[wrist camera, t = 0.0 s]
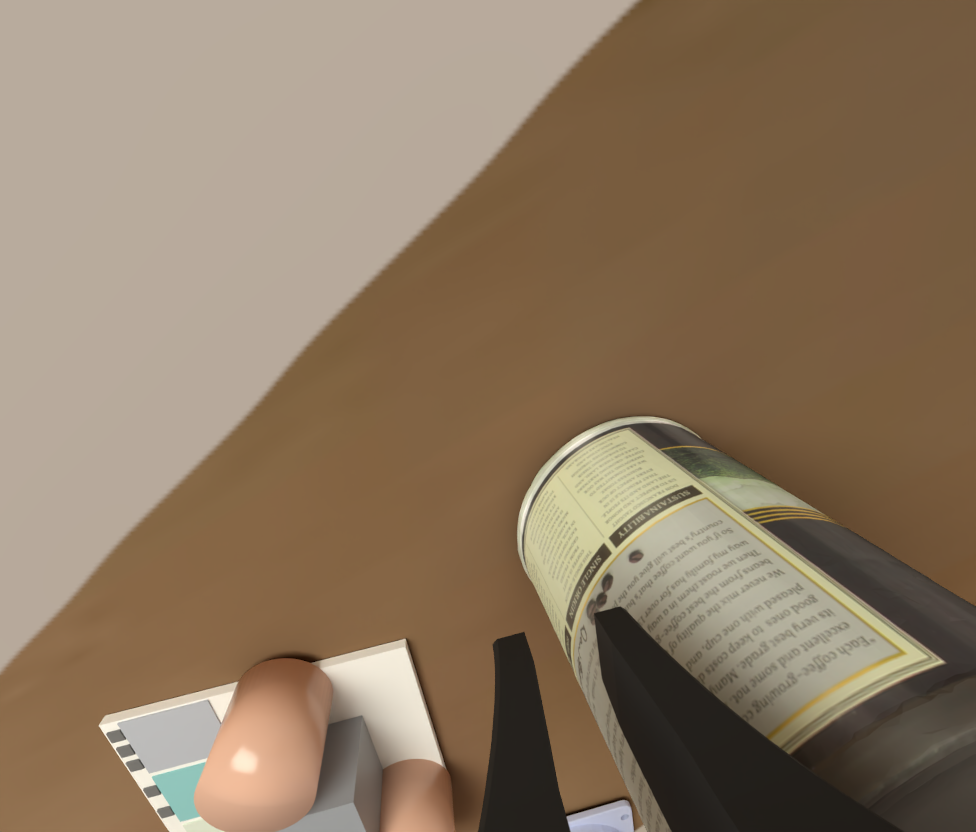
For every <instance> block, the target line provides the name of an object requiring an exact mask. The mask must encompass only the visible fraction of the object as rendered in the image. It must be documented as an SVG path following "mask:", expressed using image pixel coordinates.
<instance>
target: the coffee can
mask: <svg viewBox="0 0 976 832" xmlns="http://www.w3.org/2000/svg"><path fill="white" fill-rule="evenodd" d="M517 542H518V553H519V556H520V559H521V562H522V565H523V568H524V570H525V571H526V573H527V575H528V577H529V578H530V580H531V581H532V582H533V584H534V586H535V588H536V591H537V593H538V595H539V597H540V599H541V601H542V604H543V606H544V608H545V610H546V612H547V614H548V616H549V619H550V621H551V623H552V625H553V628H554V630H555V632H556V634H557V636H558V638H559V640H560V643H561V645H562V647H563V649H564V652H565V654H566V656H567V658H568V660H569V662H570V664H571V667H572V669H573V671H574V673H575V676H576V678H577V681H578V683H579V685H580V687H581V689H582V691H583V693H584V695H585V697H586V700H587V702H588V704H589V706H590V708H591V711H592V713H593V715H594V717H595V719H596V722H597V724H598V726H599V728H600V730H601V732H602V735H603V737H604V739H605V741H606V743H607V745H608V748H609V750H610V752H611V754H612V756H613V758H614V761H615V763H616V765H617V767H618V769H619V771H620V774H621V776H622V778H623V780H624V782H625V784H626V787H627V789H628V791H629V793H630V795H631V797H632V800H633V802H634V804H635V806H636V808H637V810H638V813H639V815H640V817H641V819H642V821H643V823H644V826H645V828H646V830H647V832H671V830H670V828H669V826H668V824H667V822H666V820H665V818H664V816H663V814H662V812H661V810H660V808H659V806H658V804H657V802H656V800H655V798H654V796H653V793H652V791H651V789H650V787H649V785H648V783H647V781H646V779H645V777H644V775H643V773H642V771H641V769H640V767H639V765H638V763H637V761H636V759H635V757H634V755H633V753H632V751H631V749H630V747H629V745H628V743H627V741H626V738H625V736H624V734H623V732H622V730H621V728H620V725H619V723H618V720H617V718H616V715H615V712H614V710H613V707H612V705H611V702H610V699H609V697H608V694H607V691H606V689H605V686H604V683H603V681H602V676H601V668H600V660H599V652H598V644H597V636H596V628H595V620H594V613H597V612H601V611H604V610H608V609H612V608H615V607H619V606H621V607H622V608H624V609H626V610H627V612H628V613H629V614H630V615H631V616H632V617H633V618H634V619H635V620H636V621H637V622H638V623H639V624H640V625H641V627H642V628H643V629H644V630H645V631H646V632H647V633H648V634H649V635H650V636H651V637H652V638H653V639H654V640H655V641H656V642H657V643H658V644H659V645H660V646H661V647H662V648H663V649H665V650H666V651H667V652H668V653H669V654H670V655H671V656H672V657H673V658H674V659H675V660H676V661H677V662H678V663H679V664H680V665H681V666H682V667H684V668H685V669H686V670H687V671H688V672H689V673H690V674H691V675H692V676H694V677H695V678H696V679H697V680H698V681H699V682H700V683H701V684H702V685H704V686H705V687H706V688H707V689H708V690H709V691H710V692H712V693H713V694H714V695H715V696H716V697H717V698H719V699H720V700H721V701H722V702H723V703H724V704H726V705H727V706H728V707H729V708H730V709H732V710H733V711H734V712H735V713H737V714H738V715H739V716H740V717H741V718H743V719H744V720H745V721H746V722H748V723H749V724H750V725H751V726H753V727H754V728H755V729H756V730H758V731H759V732H760V733H761V734H763V735H764V736H765V737H767V738H768V739H769V740H771V741H772V742H773V743H774V744H776V745H777V746H778V747H780V748H781V749H782V750H784V751H785V752H787V753H788V754H789V755H791V756H792V757H793V758H795V759H796V760H798V761H799V762H800V763H802V764H803V765H804V766H806V767H807V768H809V769H810V770H811V771H813V772H814V773H816V774H817V775H819V776H820V777H822V778H823V779H824V780H826V781H827V782H829V783H830V784H832V785H833V786H834V787H836V788H837V789H839V790H840V791H842V792H843V793H845V794H846V795H848V796H849V797H851V798H852V799H854V800H856V801H857V802H859V803H860V804H862V805H863V806H865V807H866V808H868V809H870V810H871V811H873V812H874V813H876V814H877V815H879V816H881V817H882V818H884V819H885V820H887V821H888V822H890V823H892V824H893V825H895V826H896V827H898V828H899V829H901V830H903V831H904V832H976V606H974V605H972V604H971V603H969V602H967V601H965V600H964V599H962V598H960V597H959V596H957V595H955V594H954V593H952V592H950V591H949V590H947V589H945V588H944V587H942V586H940V585H939V584H937V583H935V582H934V581H932V580H931V579H929V578H928V577H926V576H925V575H923V574H921V573H920V572H918V571H916V570H915V569H913V568H911V567H910V566H908V565H906V564H905V563H903V562H901V561H900V560H898V559H897V558H895V557H893V556H892V555H890V554H889V553H887V552H885V551H884V550H882V549H881V548H879V547H877V546H876V545H874V544H872V543H870V542H869V541H867V540H866V539H864V538H863V537H861V536H859V535H858V534H856V533H854V532H852V531H851V530H849V529H848V528H846V527H844V526H843V525H841V524H839V523H838V522H836V521H834V520H833V519H831V518H829V517H828V516H826V515H824V514H823V513H821V512H819V511H818V510H816V509H815V508H813V507H811V506H810V505H808V504H806V503H805V502H803V501H802V500H800V499H798V498H797V497H795V496H794V495H792V494H790V493H788V492H787V491H785V490H784V489H782V488H780V487H779V486H777V485H776V484H774V483H773V482H771V481H769V480H768V479H766V478H764V477H763V476H761V475H760V474H758V473H756V472H755V471H753V470H751V469H750V468H748V467H746V466H745V465H743V464H742V463H740V462H738V461H737V460H735V459H733V458H732V457H730V456H728V455H727V454H725V453H723V452H722V451H720V450H718V449H717V448H715V447H714V446H712V445H710V444H709V443H707V442H706V441H704V440H702V439H701V438H700V437H699V436H698V435H697V434H696V433H694V432H693V431H691V430H690V429H688V428H687V427H685V426H683V425H681V424H679V423H676V422H674V421H671V420H668V419H664V418H658V417H649V416H635V417H626V418H620V419H615V420H611V421H608V422H605V423H603V424H600V425H598V426H595V427H593V428H591V429H589V430H587V431H585V432H583V433H582V434H580V435H578V436H576V437H575V438H574V439H572V440H571V441H570V442H568V443H567V444H566V445H564V446H563V447H562V448H561V449H559V450H558V451H557V452H556V453H555V454H554V455H553V456H552V457H551V458H550V459H549V460H548V461H547V462H546V464H545V465H544V466H543V467H542V468H541V469H540V471H539V472H538V473H537V475H536V477H535V478H534V480H533V482H532V484H531V486H530V488H529V489H528V491H527V493H526V495H525V498H524V500H523V503H522V507H521V510H520V513H519V519H518V526H517Z"/></svg>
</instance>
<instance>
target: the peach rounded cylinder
mask: <svg viewBox="0 0 976 832" xmlns="http://www.w3.org/2000/svg"><path fill="white" fill-rule="evenodd" d="M379 832H455V823H454V810H453V797H452V784H451V777H450V774H449V773H448V771H447V770H446V769H445V768H444V767H443V766H442V765H440V764H438V763H436V762H434V761H430V760H426V759H408V760H403V761H399V762H396V763H394V764H391V765H389V766H387V767H386V768H384V769H383V774H382V793H381V812H380V831H379Z"/></svg>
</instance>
